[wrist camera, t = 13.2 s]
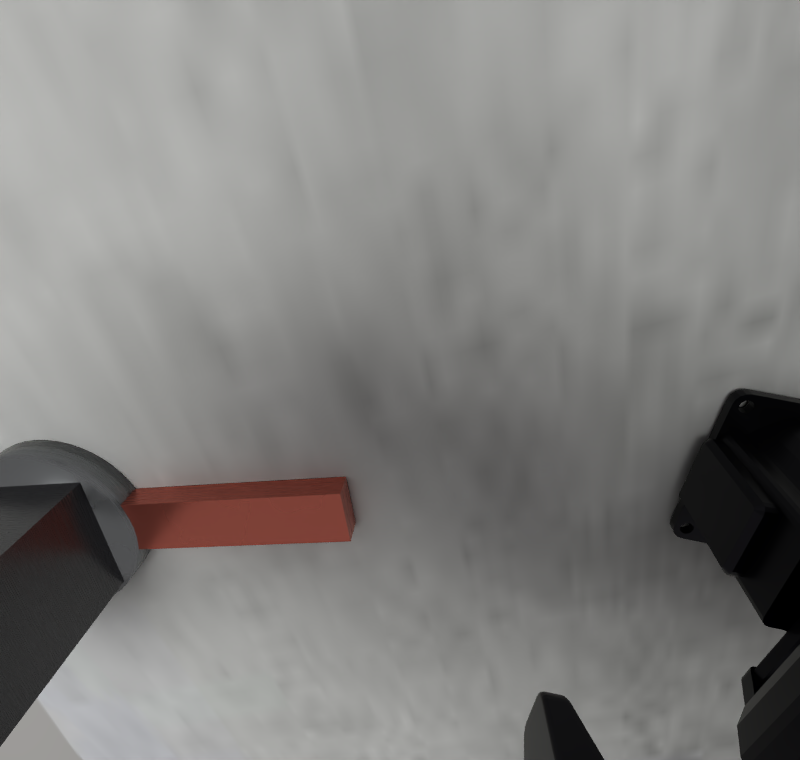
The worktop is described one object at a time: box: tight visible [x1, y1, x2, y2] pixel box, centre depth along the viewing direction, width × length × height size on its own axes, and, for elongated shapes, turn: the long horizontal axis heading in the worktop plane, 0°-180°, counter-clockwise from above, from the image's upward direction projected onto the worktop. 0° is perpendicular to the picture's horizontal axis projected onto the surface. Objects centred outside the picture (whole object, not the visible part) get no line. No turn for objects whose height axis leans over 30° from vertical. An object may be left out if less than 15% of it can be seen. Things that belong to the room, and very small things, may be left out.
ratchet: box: [0, 440, 356, 594], centre depth 23 cm, size 18×8×4 cm, turn 98°
